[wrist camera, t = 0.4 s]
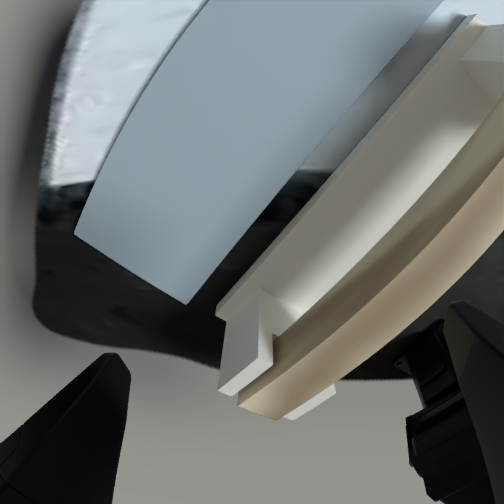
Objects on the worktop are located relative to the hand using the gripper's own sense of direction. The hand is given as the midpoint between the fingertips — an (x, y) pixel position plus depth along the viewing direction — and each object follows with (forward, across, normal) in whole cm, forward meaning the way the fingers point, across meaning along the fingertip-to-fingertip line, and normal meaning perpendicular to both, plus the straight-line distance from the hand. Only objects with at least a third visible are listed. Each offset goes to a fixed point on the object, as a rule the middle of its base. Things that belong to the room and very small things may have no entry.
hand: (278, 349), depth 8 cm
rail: (+8, -7, +2) cm, 11 cm away
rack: (+14, -7, +2) cm, 15 cm away
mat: (+13, 0, -6) cm, 15 cm away
